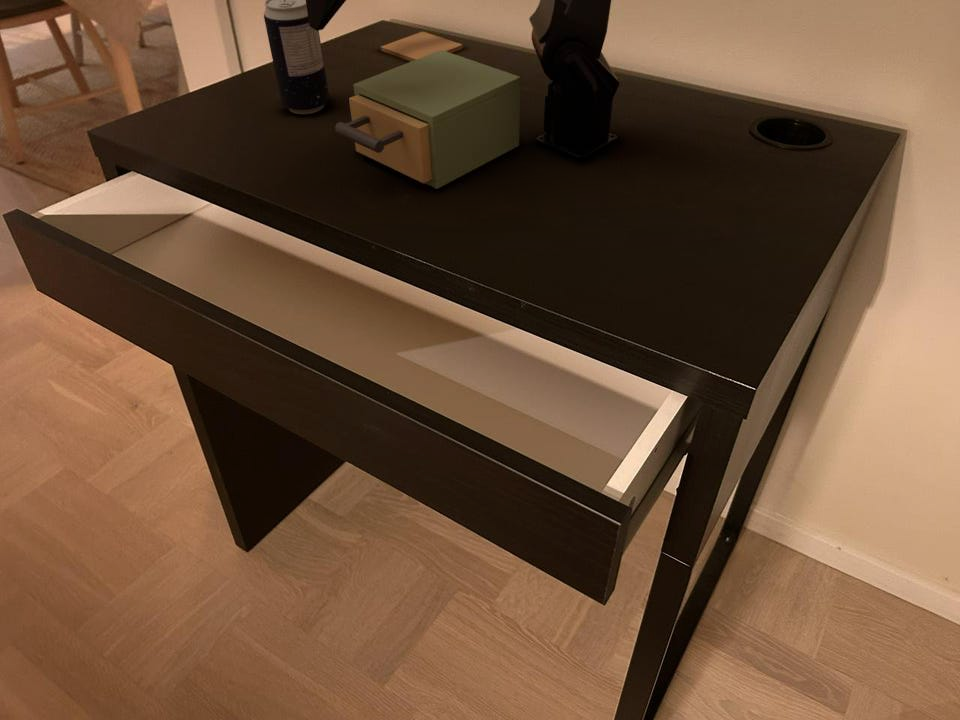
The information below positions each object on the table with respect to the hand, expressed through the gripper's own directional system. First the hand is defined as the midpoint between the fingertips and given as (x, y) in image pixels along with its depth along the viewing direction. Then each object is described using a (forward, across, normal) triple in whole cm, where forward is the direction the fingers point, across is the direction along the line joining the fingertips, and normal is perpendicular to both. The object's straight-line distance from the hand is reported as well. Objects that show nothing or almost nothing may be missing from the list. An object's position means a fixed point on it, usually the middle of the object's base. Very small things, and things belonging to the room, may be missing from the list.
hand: (315, 28), depth 71 cm
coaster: (+9, -33, -6) cm, 34 cm away
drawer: (+9, -5, +11) cm, 15 cm away
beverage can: (+14, -11, -7) cm, 19 cm away
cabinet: (+8, -9, +12) cm, 18 cm away
